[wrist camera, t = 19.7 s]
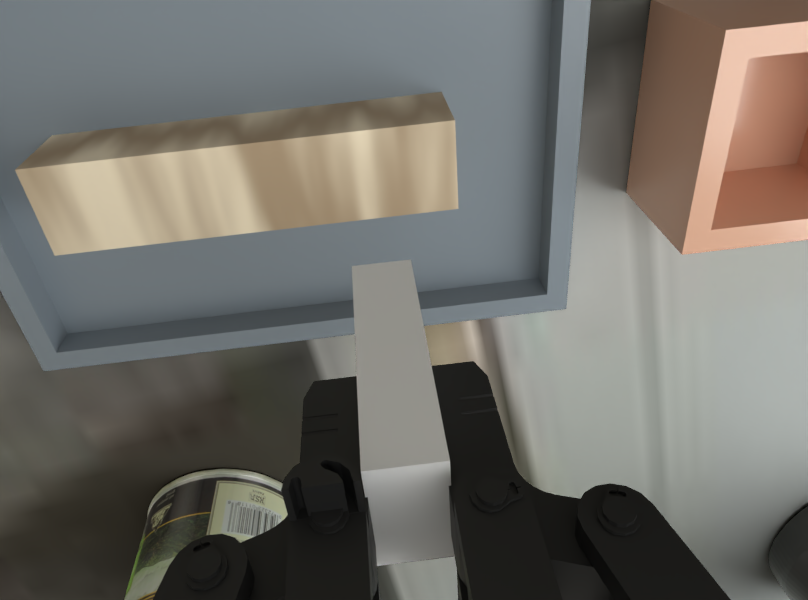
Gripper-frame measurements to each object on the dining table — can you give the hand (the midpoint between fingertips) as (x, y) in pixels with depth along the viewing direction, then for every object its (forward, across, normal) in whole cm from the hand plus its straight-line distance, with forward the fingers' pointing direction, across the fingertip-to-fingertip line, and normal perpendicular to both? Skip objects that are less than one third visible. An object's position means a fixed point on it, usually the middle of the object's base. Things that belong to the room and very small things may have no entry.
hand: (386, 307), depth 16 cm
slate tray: (+14, +4, 0) cm, 14 cm away
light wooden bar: (+13, -3, 0) cm, 14 cm away
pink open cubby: (+14, -16, 0) cm, 21 cm away
